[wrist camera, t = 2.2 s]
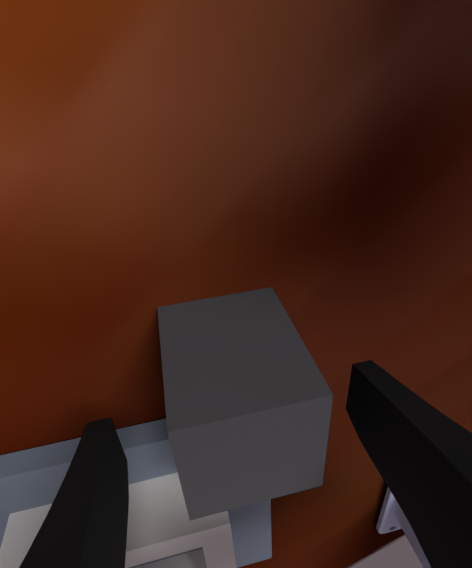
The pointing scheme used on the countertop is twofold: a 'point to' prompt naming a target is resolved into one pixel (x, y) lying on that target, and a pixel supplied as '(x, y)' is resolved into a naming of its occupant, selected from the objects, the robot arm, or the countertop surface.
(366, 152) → the countertop surface
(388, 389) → the robot arm
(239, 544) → the socket plate
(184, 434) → the plug
